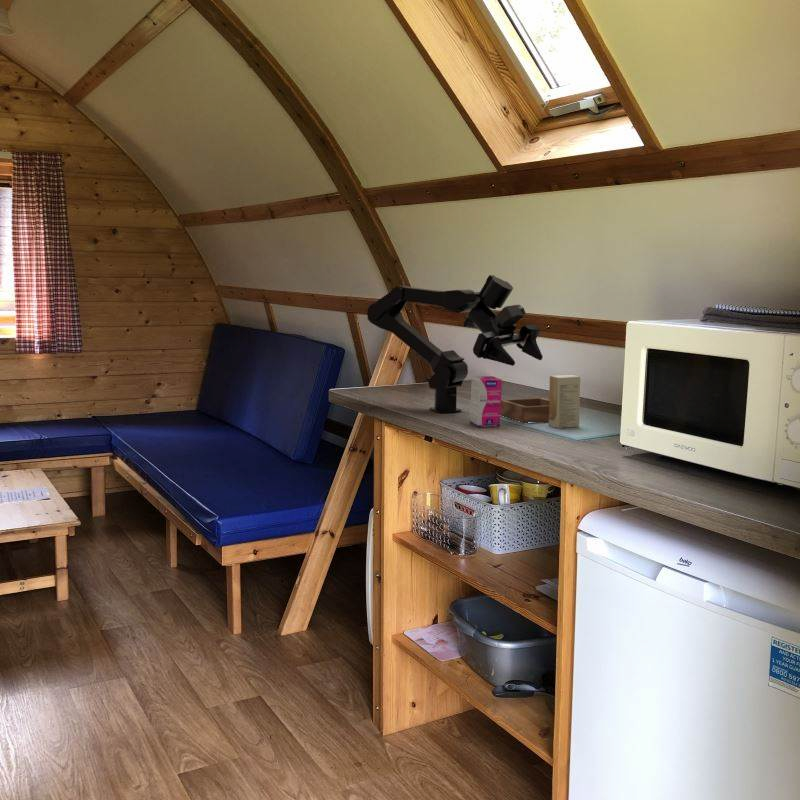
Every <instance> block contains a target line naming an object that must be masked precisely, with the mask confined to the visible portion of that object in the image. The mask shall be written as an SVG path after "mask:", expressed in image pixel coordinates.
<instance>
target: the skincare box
mask: <svg viewBox="0 0 800 800" xmlns="http://www.w3.org/2000/svg"><path fill="white" fill-rule="evenodd" d="M548 390H549V395H548V397H549V399H548V400H549V422H548V426H550V425H551V427H553V426H554V427H553V428H555V427H557V428H556V429H563V427H565V428H576V427H580V409H581V408H580V401H581V376H579V375H576V374H558V375H549V389H548Z"/></svg>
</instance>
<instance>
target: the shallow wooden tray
mask: <svg viewBox="0 0 800 800" xmlns="http://www.w3.org/2000/svg"><path fill="white" fill-rule="evenodd" d="M500 415H501V416H500V417H502V416H504V417H503V418H505V417H507V418H506V419H508V418H510V419H509V420H511V419H513V420H512V421H514V420H516V421H515V422H517V421H520V422H523V423H522V424H524V423H528V422H543V423H549V399H548V398H545V397H544V398H543V397H527V398H525V397H524V398H512V399H511V398H509V399H501V412H500ZM520 422H519V423H520Z"/></svg>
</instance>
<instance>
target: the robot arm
mask: <svg viewBox="0 0 800 800" xmlns="http://www.w3.org/2000/svg"><path fill="white" fill-rule="evenodd" d="M513 290H514V287H513V285H511V284H510V283H509V282H508V281H506V280H503V279H501V278H499V277H497V276H496V275H494V274H492V275H490V274H489V275H488V277H487V278H486V280H485V283H484V284H483V286H482V288H481V290H479V291H474V290H472V289H453V290H452V289H451V290H437V289H429V288H421V287H413V286H408V285H397V286H394V287H393V288H392V289H391V290H390V291H389V292H388V293H386V294H385V295H384V296H382V297H381V298H379V299H378V300H377V301H376V302H374V303H371V304H370V305H369V306H368V307H367V311H366V313H367V314H366V315H367V320H368V321H369V323H370V324H371V325H373V326H375V327H378V328H379V329H381V330H384V331H388V332H390V333H392V334H393V335H394V336H396V337H397V338H398V339H399V340H400V341H402V342H403V343H404V344H405V345H406V346H408V347H409V348H410V349H411V350H413V352H415V353H416V354H417V355H419V356H420V358H422V359H423V360H424V361H426V362H427V363H428V364H429V366H430V369H431V371H432V373H433V375H432V376H431V377H430V378H429V379H428V380H427V382H428V386H429V389H433V390H434V405H433V407H429V410H431V411H433V412H436V413H438V414H443V413H444V414H445V413H459V412H460V413H461V412H462V409H460V408H457V401H458V400H457V398H458V394H457V392H458V391H457V390H458V389H457V388H458V387H462V385H463V383H464V380H465V379H466V378H467V377H468V375H469V370H468V369H469V368H468V364H467V362H465V358H464V357H461V356H460V355H459V354H458V353H457V352H456V351H455V350H453V349H452V350H446V351H443V350H441V349H440V348H439V347H438V346H436V345H435V344H433V342H431V341H430V340H429V339H428V338H426V336H424V335H423V334H421V332H419V331H418V330H417V329H415V328H414V327H413V326H412V325H410V324H409V323H408V322H407V321H406V320H405V319H404V316H403V314H402V311H403V310H404V309H405V306H406V304H407V303H408V302H410V303H417V304H424V305H431V306H438V307H441V308H442V309H445V310H447V311H450V312H452V313H455V314H460V313H468V314H467V315H466V316H464V317H463V318H464V321H463V327H466V328H470V329H471V328H472V329H474V328H475V327H476V328H477V329H478V330H479V331H480V332H481V333H478V335H477V337H476V339H475V342H474V345H473V347H472V352H473V354H474V355H475V357H476V358H478V359H480V358H483V359H484V360H491V361H493V362H494V361H495V362H498V363H502V364H504V365H507V366H508V365H509V366H512V367H513V366H515V365H516V362H515V360H514V358H513V357H512V356H511V355H510V353H508V351H507V350H506V349H505V348H504V347H507V346H511V345H516V347H517V348H518V349H520V350H521V352H523V353H524V354H525V355H528V356H530V357H532V358H535V359H536V360H538V361H542V360H543V354H542V351H541V349H540V347H539V345H538V343H537V342H538V341H537V338H538V336H539V334H540V331H541V328H540V327H538V325H536V324H535V323H534V324H530V325H529V324H528V325H524V326H523V325H522V326H520V329H519V332H518V333H516V334H515V332H514V331H516V329H517V328H518V326H517V325H516V324H517V323H518V322H519V320H521V319H523V317H524V316H525V315H526V310H525V308H524V307H523V306H522V305H521V304H512V305H507V306H504V307H503V305H504V304H505V303H506V301H507V299H508V298H509V296H510V295H511V293H512V292H513ZM502 307H503V308H502ZM501 308H502V309H501ZM496 309H501V310H500V311H499V312H498V313H496V312H495V311H493V310H496Z"/></svg>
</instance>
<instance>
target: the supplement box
mask: <svg viewBox="0 0 800 800" xmlns="http://www.w3.org/2000/svg"><path fill="white" fill-rule="evenodd" d="M470 385H471V387H470V388H471V390H470V410H469V413H470V415H469V424H470V425H473V426H474V427H476V428H488V427H489V428H491V427H498V428H499V427H500V425H501V424H500V423H501V416H500V412H501V400H502V388H503V387H502V385H503V379H500V378H498V377H496V376H490V375H489V376H482V375H481V376H472V377H471V384H470Z"/></svg>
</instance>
